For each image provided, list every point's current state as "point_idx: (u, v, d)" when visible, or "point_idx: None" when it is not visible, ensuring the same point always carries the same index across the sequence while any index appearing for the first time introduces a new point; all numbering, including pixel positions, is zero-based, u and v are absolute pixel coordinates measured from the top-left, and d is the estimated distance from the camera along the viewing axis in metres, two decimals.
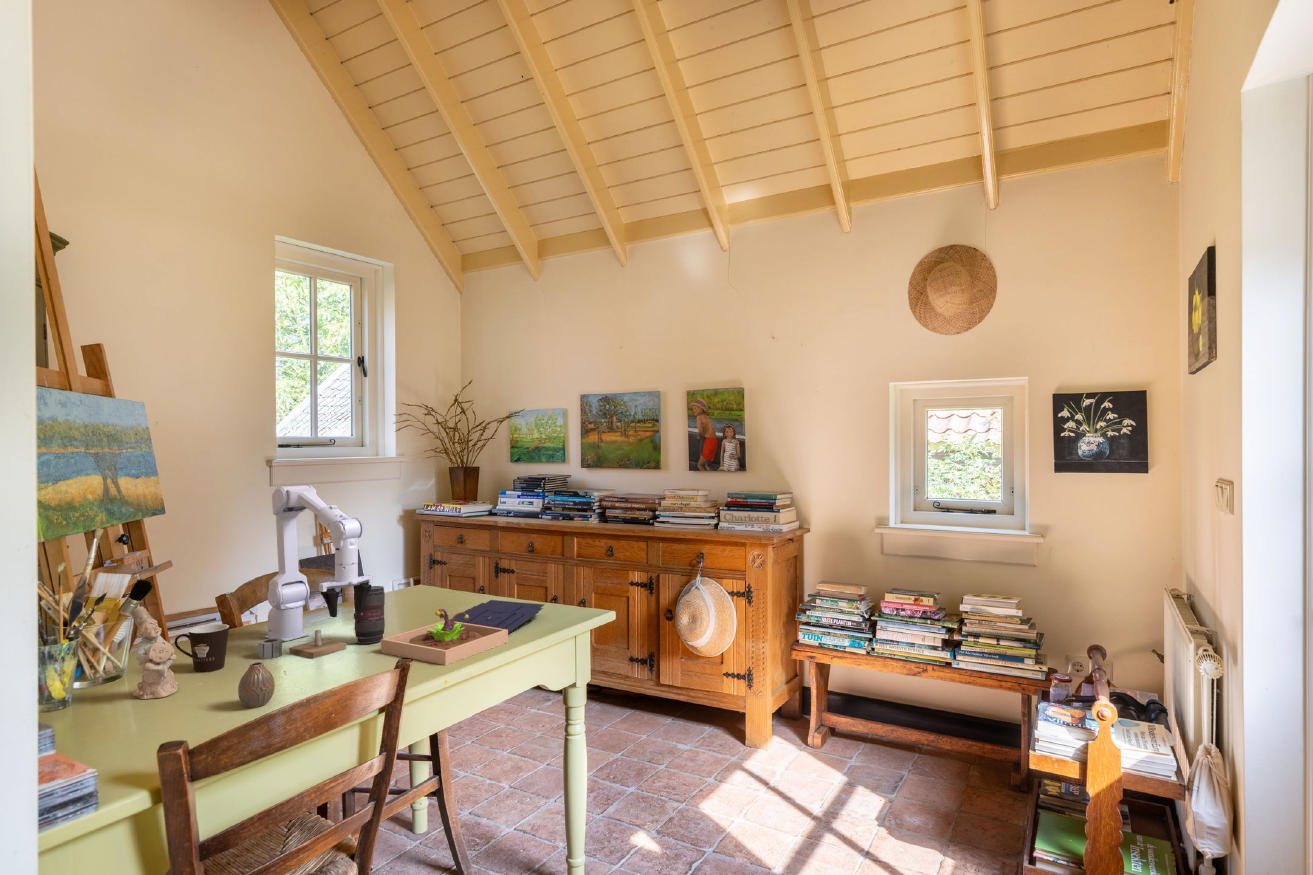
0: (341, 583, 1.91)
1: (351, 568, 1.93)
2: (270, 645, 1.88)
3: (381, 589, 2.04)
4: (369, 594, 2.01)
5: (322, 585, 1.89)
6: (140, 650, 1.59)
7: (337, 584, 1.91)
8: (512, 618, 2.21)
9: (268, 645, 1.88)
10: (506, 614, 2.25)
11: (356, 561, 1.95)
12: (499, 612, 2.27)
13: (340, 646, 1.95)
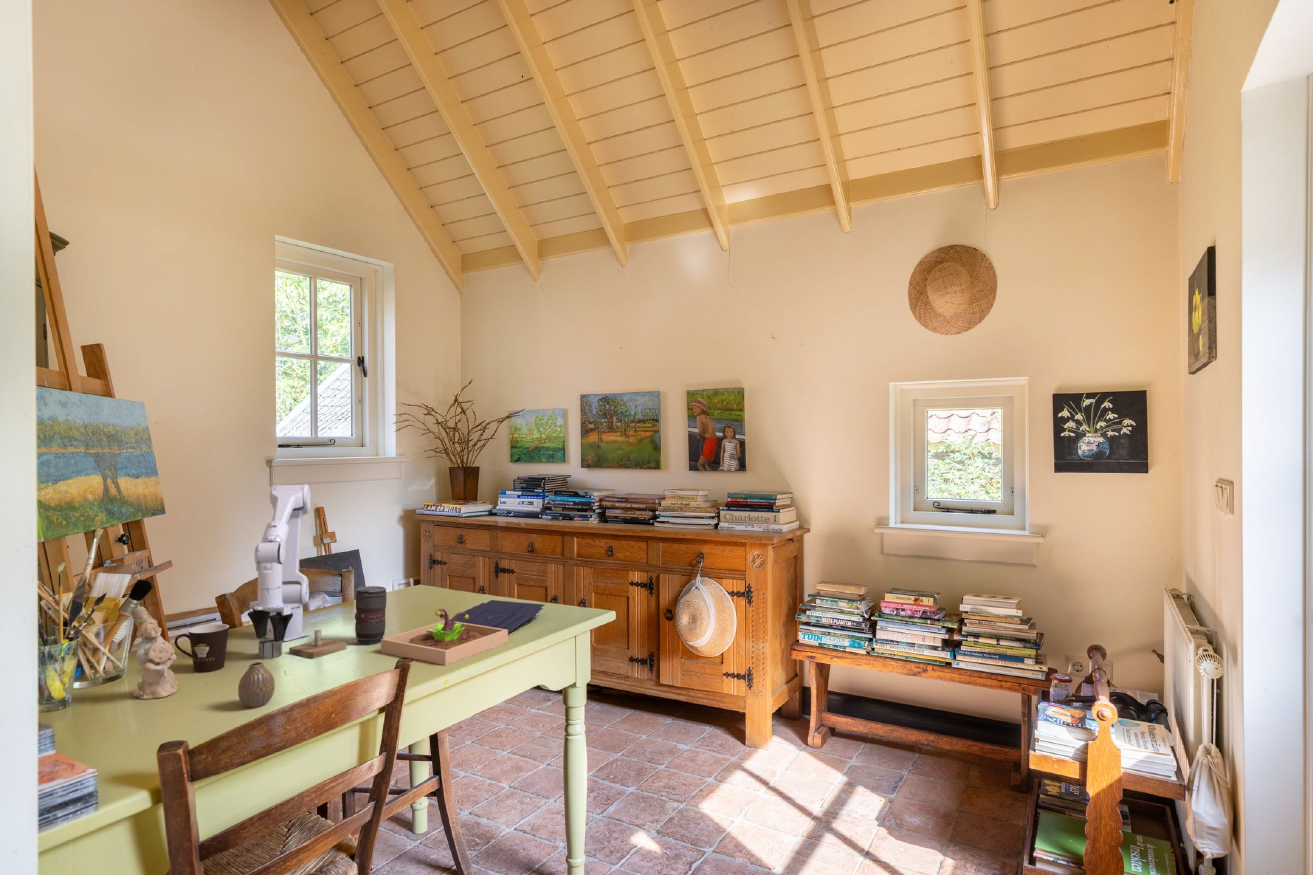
0: (255, 606, 1.90)
1: (259, 593, 1.88)
2: (270, 645, 1.88)
3: (383, 591, 2.03)
4: (371, 596, 2.00)
5: None
6: (140, 650, 1.59)
7: (254, 605, 1.91)
8: (512, 617, 2.22)
9: (268, 645, 1.88)
10: (506, 614, 2.25)
11: (272, 586, 1.88)
12: (500, 611, 2.27)
13: (340, 646, 1.95)
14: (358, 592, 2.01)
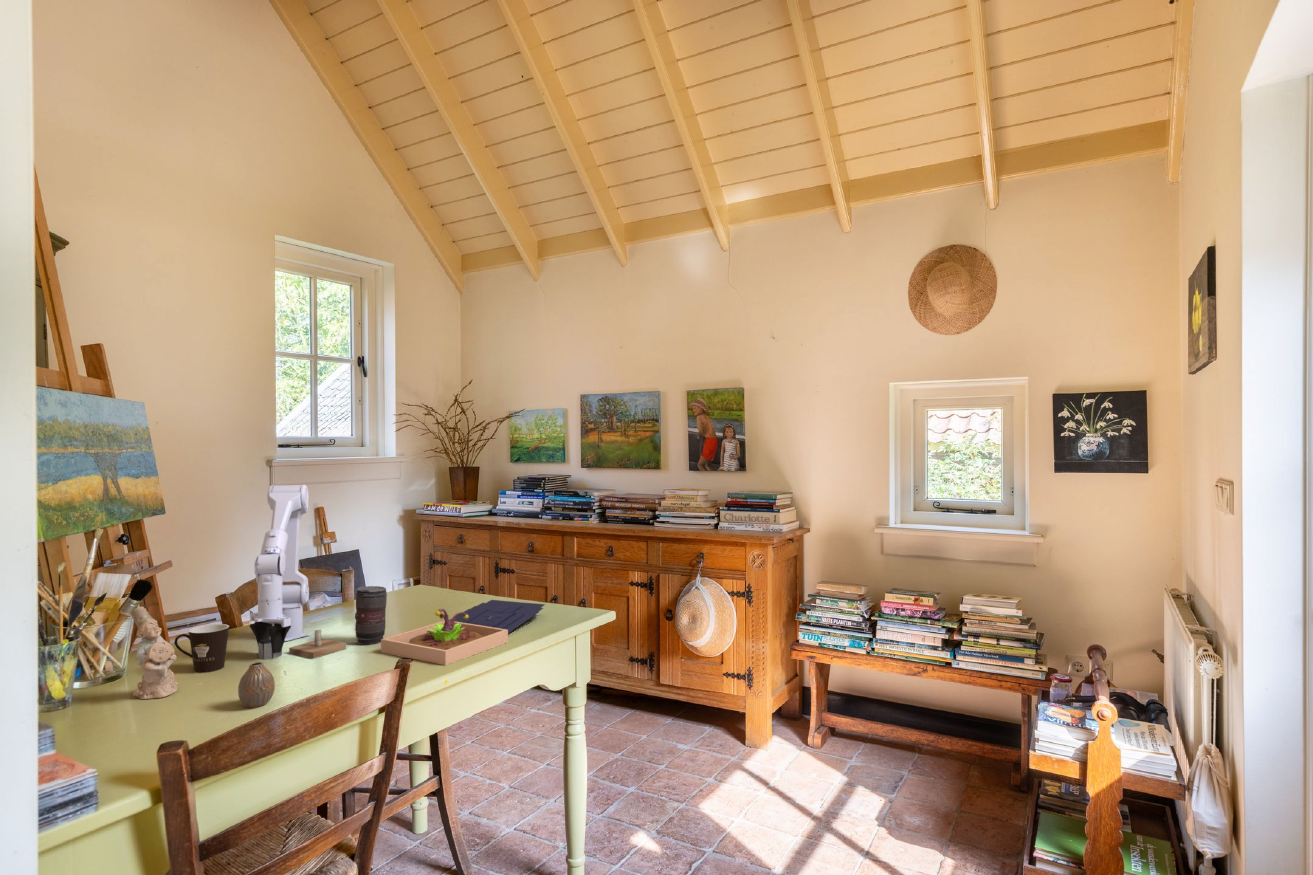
0: (255, 617, 1.90)
1: (259, 605, 1.88)
2: (270, 645, 1.88)
3: (383, 591, 2.03)
4: (371, 596, 2.00)
5: None
6: (140, 650, 1.59)
7: (254, 617, 1.91)
8: (513, 617, 2.22)
9: (268, 645, 1.88)
10: (506, 614, 2.25)
11: (272, 598, 1.88)
12: (500, 611, 2.28)
13: (340, 646, 1.95)
14: (358, 592, 2.01)
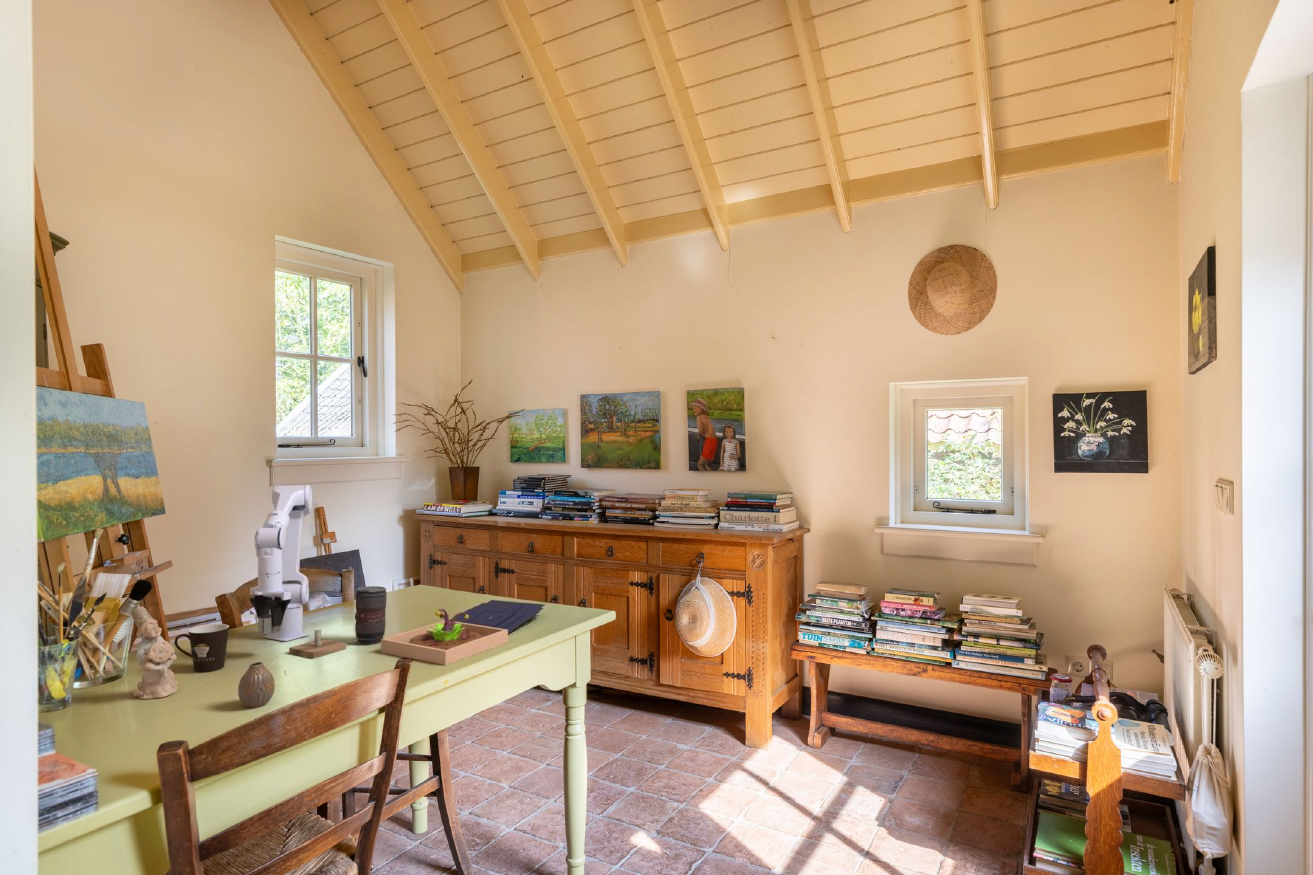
0: (255, 591, 1.90)
1: (259, 578, 1.88)
2: (270, 620, 1.88)
3: (383, 591, 2.03)
4: (370, 596, 2.00)
5: None
6: (140, 650, 1.59)
7: (254, 591, 1.91)
8: (513, 617, 2.22)
9: (268, 620, 1.88)
10: (507, 614, 2.25)
11: (272, 572, 1.88)
12: (500, 611, 2.28)
13: (340, 646, 1.95)
14: (358, 592, 2.01)
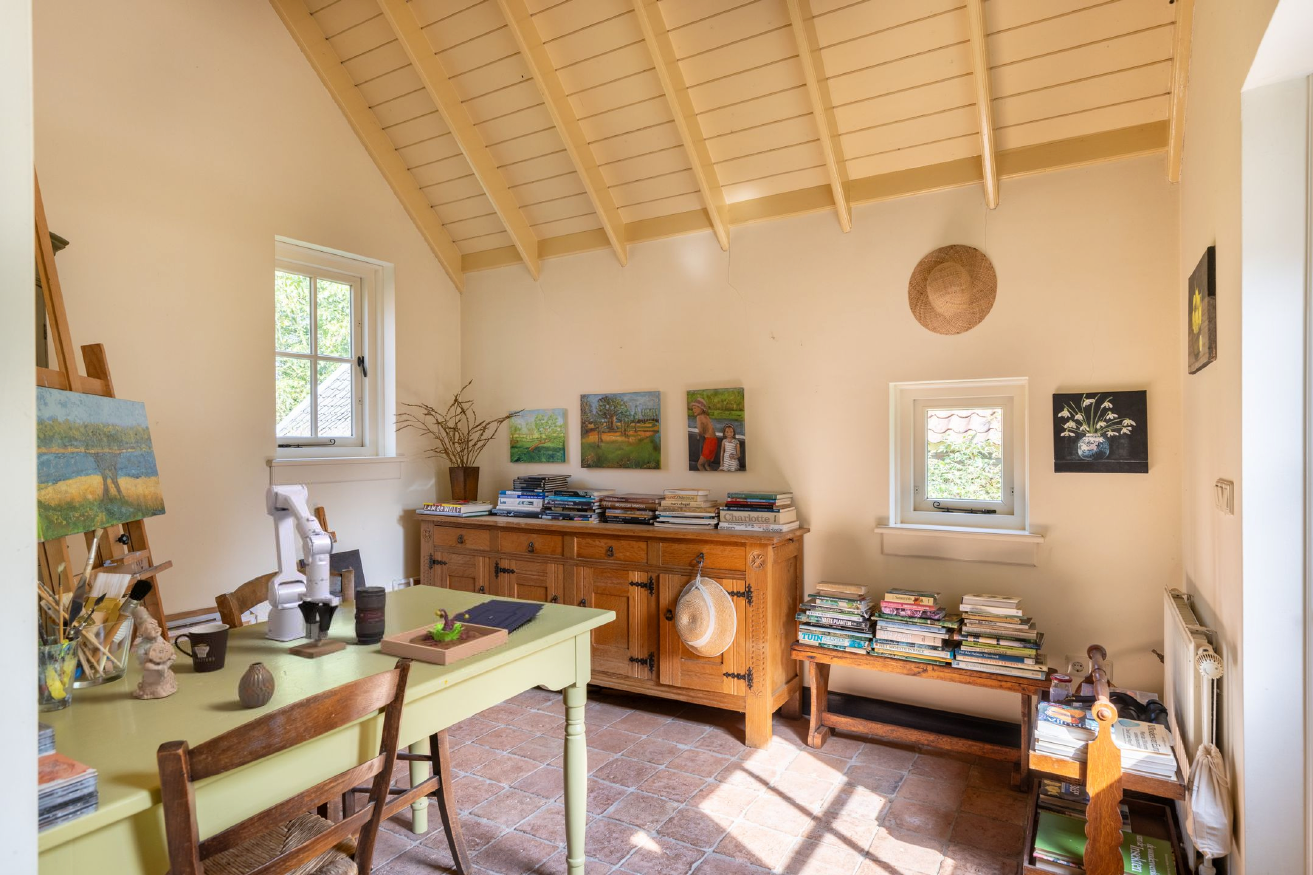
0: (303, 597, 1.94)
1: (307, 584, 1.93)
2: (317, 626, 1.92)
3: (382, 591, 2.03)
4: (369, 596, 2.00)
5: None
6: (140, 650, 1.59)
7: (302, 597, 1.95)
8: (513, 617, 2.22)
9: (315, 626, 1.92)
10: (507, 613, 2.25)
11: (326, 577, 1.94)
12: (500, 611, 2.28)
13: (340, 646, 1.95)
14: (357, 592, 2.01)
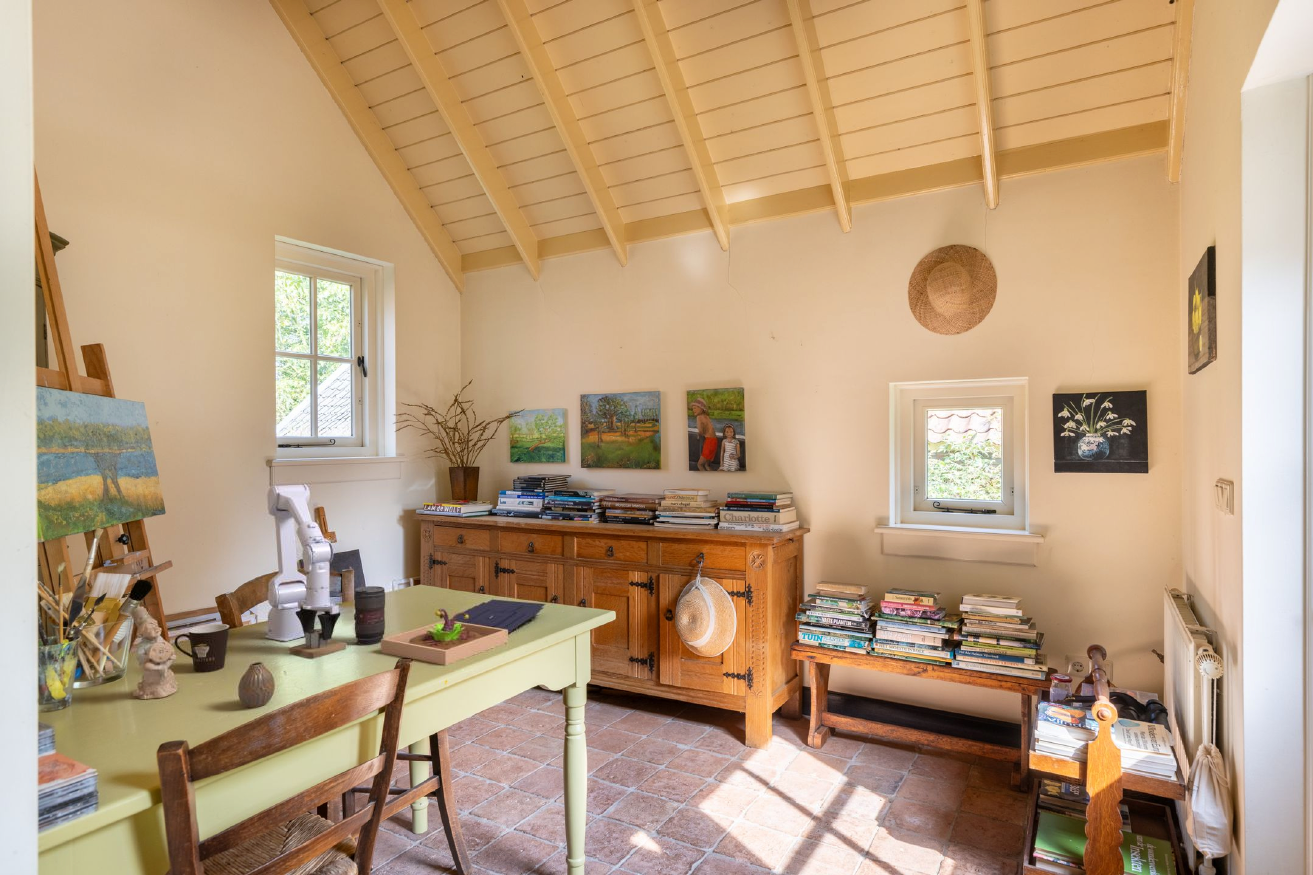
0: (303, 605, 1.94)
1: (307, 592, 1.93)
2: (317, 635, 1.92)
3: (381, 591, 2.02)
4: (368, 597, 2.00)
5: None
6: (140, 650, 1.59)
7: (302, 605, 1.95)
8: (513, 617, 2.22)
9: (315, 635, 1.92)
10: (507, 613, 2.25)
11: (326, 585, 1.94)
12: (501, 611, 2.28)
13: (340, 646, 1.95)
14: (356, 592, 2.01)
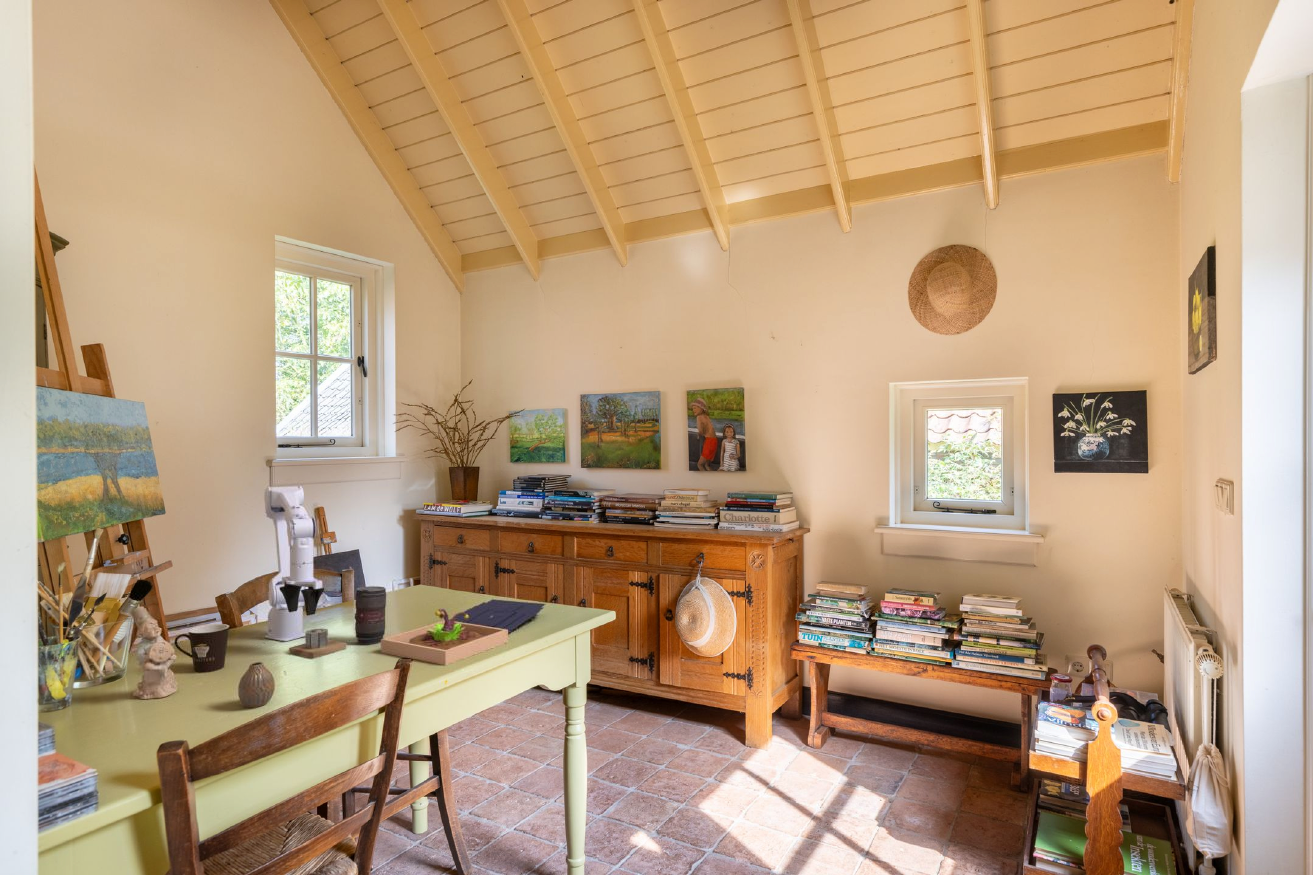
0: (287, 580, 1.95)
1: (291, 568, 1.93)
2: (317, 635, 1.92)
3: (382, 591, 2.03)
4: (369, 596, 2.00)
5: None
6: (140, 650, 1.59)
7: (286, 580, 1.95)
8: (513, 617, 2.22)
9: (315, 635, 1.92)
10: (507, 613, 2.26)
11: (308, 561, 1.94)
12: (501, 611, 2.28)
13: (340, 646, 1.95)
14: (357, 591, 2.01)
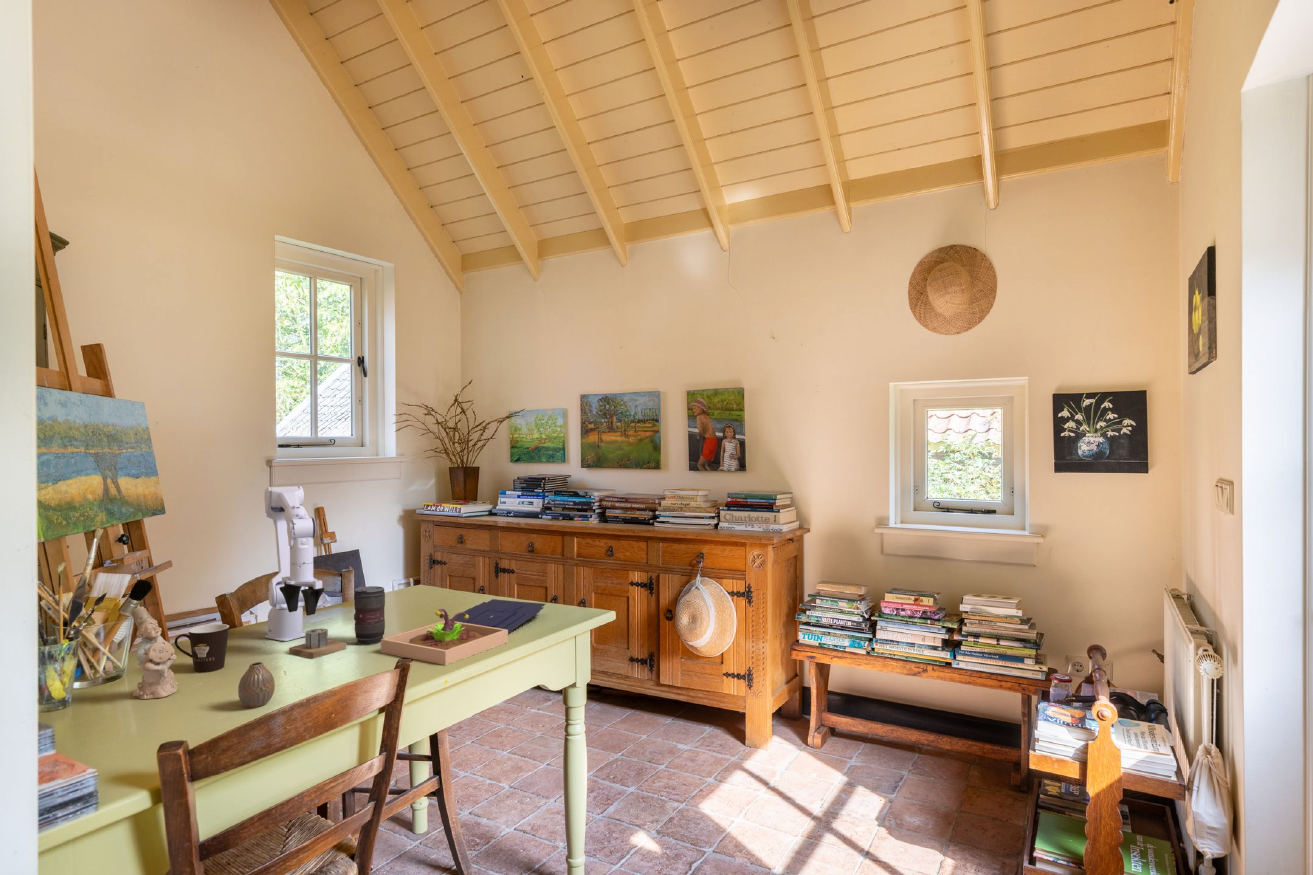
0: (287, 580, 1.95)
1: (291, 568, 1.93)
2: (317, 635, 1.92)
3: (381, 591, 2.02)
4: (368, 597, 2.00)
5: None
6: (140, 650, 1.59)
7: (286, 580, 1.95)
8: (513, 617, 2.23)
9: (315, 635, 1.92)
10: (507, 613, 2.26)
11: (308, 561, 1.94)
12: (501, 611, 2.28)
13: (340, 646, 1.95)
14: (356, 592, 2.01)
